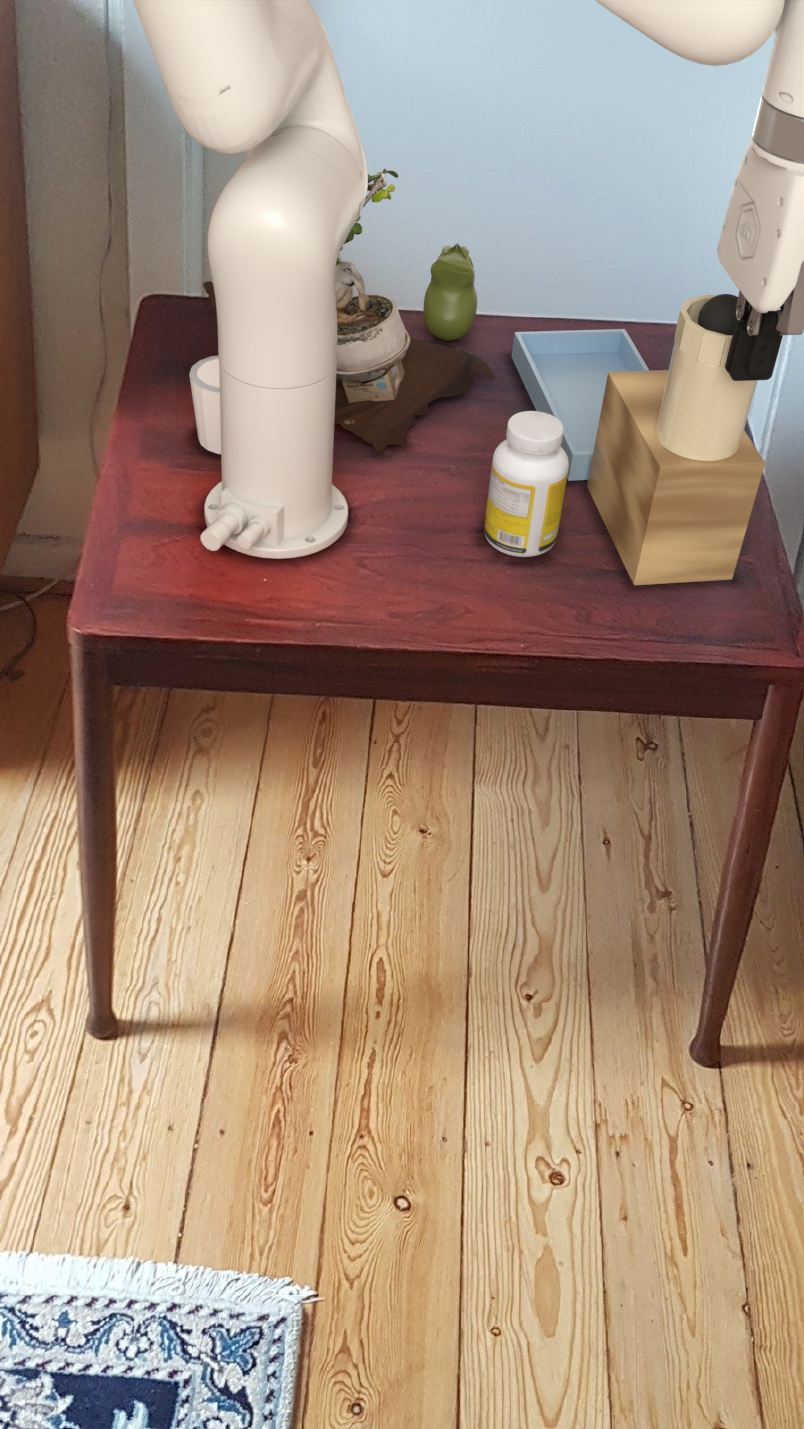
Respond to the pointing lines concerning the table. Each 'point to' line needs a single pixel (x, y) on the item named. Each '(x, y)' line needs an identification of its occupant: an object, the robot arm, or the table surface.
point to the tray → (573, 381)
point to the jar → (702, 393)
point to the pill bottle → (527, 486)
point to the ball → (719, 314)
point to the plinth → (667, 490)
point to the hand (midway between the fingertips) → (747, 374)
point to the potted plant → (385, 356)
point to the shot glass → (207, 402)
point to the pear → (451, 295)
